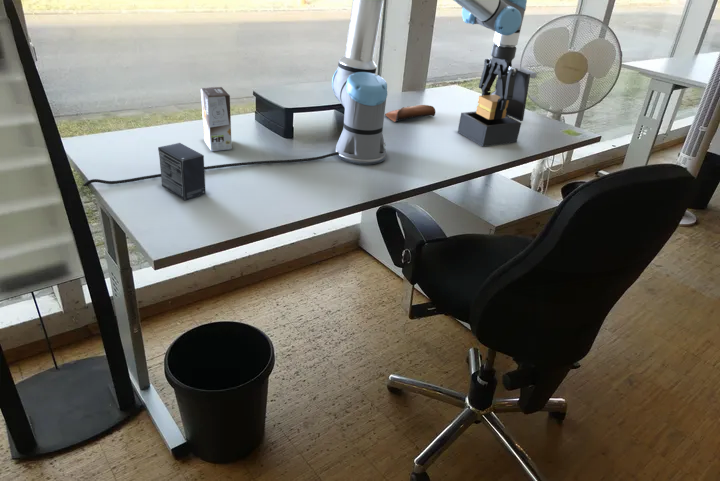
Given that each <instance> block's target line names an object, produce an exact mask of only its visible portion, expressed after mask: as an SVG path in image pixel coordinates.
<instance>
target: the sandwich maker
mask: <svg viewBox="0 0 720 481" xmlns="http://www.w3.org/2000/svg"><path fill="white" fill-rule="evenodd" d="M458 122H459V123H458V128H457V133H459V134H460V135H461V136H464V137H466V138H467V139H469V140H470V141H472V142H474V143H476V144H478V145H479V146H481V147H492V146H498V145H506V144H507V145H508V144H515V143H517V142H518V138H519V135H520V131H521V126H522V121H519V120H517V119H515V118H513V117H511V116H509V115H506V116H505V118H502V119H491V120H488V119H486V118H485V117H483V116H481V115H479V114H477V113H476V111H465V112H461V113H460V118H459V121H458Z"/></svg>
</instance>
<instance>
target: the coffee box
mask: <svg viewBox="0 0 720 481" xmlns="http://www.w3.org/2000/svg"><path fill="white" fill-rule="evenodd" d="M200 96H201V98H200V99H201V111H202V125H203V126H202V127H203V141H204V143H205V144H206V146H207V147H208V149H209V150H210V151H211V152H217V151H229V150H232V146H233V144H232V121H231V120H232V119H231V96H230V94H229V93H228V92H227V91H226V90H225V89H224V88H223V87H222V86H211V87H209V86H208V87H201V88H200Z"/></svg>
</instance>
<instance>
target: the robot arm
mask: <svg viewBox="0 0 720 481" xmlns="http://www.w3.org/2000/svg"><path fill="white" fill-rule="evenodd" d="M453 1H454V2H455V3H456V4H457V5H458V6H460V7H462V8H461V17H462V20H463V22H464V23H465V24H469V25H480V26H481V27H484V28H486V29H489V30H491V31H493V32H494V36H493V44H492V48H491V52H490V56H491V58H485V59H484V64H483V70H482V73H481V76H480V79H479V84H478V89H480V90H481V96H483V95H491V93H492V92H491V91H492V90H491V89H492V86H493V84H494V82H495V80H496V78H497V79H498V78H499V79H500V99H498V102H497V107H496V111H495V116H494V119H502V115H503V110H504V109H505V106H506V102H507V100H512V98H513V91H514V84H515V77H516V74H517V71H518V69H519V68H517V67H514V66H513V65H512V64H513V60H514V59H515V57H516V53H517V49H518V48H517V46H518V44H519V39H520V34H521V31H522V30H521V29H522V26H523V21H524V16H525V12H526V9H527V2H528V0H453ZM383 4H384V0H352V5H351V11H350V18H349V25H348V30H347V38H346V45H345V51H344V55H343V56H342V57H340V58H339V59H338V62H337V69H336V70H335V71H334V73H333V75H332V78H331V87H332V91H333V94H334V97H335V98H336V99H337V100H338V102H340V104H341V105H342V107H343V108H344V114H343V127H342V131H341V134H340V135H339V138H338V139H337V140H338V141H337V142H336V146H335V152H331V153H327V154H323V155H320V156H319V155H318V156H314V157H305V158H292V159H274V160H256V161H244V162H243V161H242V162H234V163H224V164H215V165H210V166H208V165H206V166H204V171H206V170H213V169H221V168H222V169H223V168H230V167H239V166H250V165H252V166H253V165H263V164H264V165H265V164H285V163H286V164H288V163H299V162H310V161H318V160H322V159H327V158H329V157H335V156H336V157H337V158H338V159H340V161H343V162H346V163H349V164H353V165H359V166H360V165H361V166H371V165H377V164H380V163H382V162H384V161H385V160H386V157H387V148H386V145H387V144H386V142H385V139H384V135H383V134H384V133H383V130H384V129H383V128H384V123H385V122H384V120H385V114H386V105H387V98H388V83H387V81H386V80H385V78H383V77H382V76H380V75H379V74H377V64H376V63H375V61H374V56H375V50H376V45H377V38H378V34H379V28H380V22H381V17H382V10H383ZM513 67H514V68H515V69H514V68H513ZM503 75H505V76H503ZM504 95H505V96H504ZM155 178H157V179H158V178H161V173H156V174H150V175H145V176H138V177H131V178H125V179H118V180H105V179H100V178H91V179H89V180H87V181H86V182H84V184H83V187H88V186H89V185H90V184H93V183H100V184H104V185H119V184H127V183H133V182H139V181H144V180H149V179H155Z"/></svg>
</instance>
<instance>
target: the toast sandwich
mask: <svg viewBox="0 0 720 481" xmlns="http://www.w3.org/2000/svg"><path fill="white" fill-rule="evenodd" d="M498 99H500V96H498V95H496V94H494V95H491V94H490V95H483V96H482V95H479V96H478V100H477V106H476V110H475V112H476V113H477V114H479V115H481V116H483V117H485V118H486V119H488V120H491V119H494V116H495V111H496V107H497V102H498ZM508 102H509V100H507V102H506V106H505V109H504V110H503V115H502V118H505V116H507V115H506V108H507V107H508Z"/></svg>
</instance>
